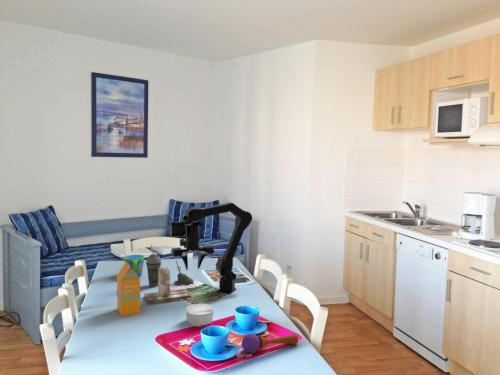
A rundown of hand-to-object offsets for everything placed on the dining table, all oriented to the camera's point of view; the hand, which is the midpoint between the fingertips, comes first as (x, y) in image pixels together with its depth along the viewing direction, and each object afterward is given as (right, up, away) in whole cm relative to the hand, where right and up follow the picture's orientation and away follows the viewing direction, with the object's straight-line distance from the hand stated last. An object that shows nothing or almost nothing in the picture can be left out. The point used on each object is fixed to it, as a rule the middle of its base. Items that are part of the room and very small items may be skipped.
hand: (192, 269), depth 195 cm
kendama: (+33, -17, -51) cm, 63 cm away
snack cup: (-35, -9, +30) cm, 47 cm away
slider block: (-12, -10, -5) cm, 16 cm away
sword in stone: (-7, -11, +19) cm, 23 cm away
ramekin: (+7, -15, -30) cm, 34 cm away
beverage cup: (-21, -11, +14) cm, 27 cm away
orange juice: (-24, -14, -20) cm, 34 cm away
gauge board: (-11, -12, -3) cm, 17 cm away
